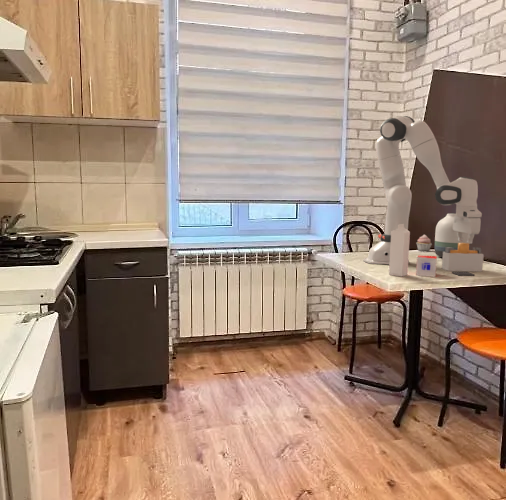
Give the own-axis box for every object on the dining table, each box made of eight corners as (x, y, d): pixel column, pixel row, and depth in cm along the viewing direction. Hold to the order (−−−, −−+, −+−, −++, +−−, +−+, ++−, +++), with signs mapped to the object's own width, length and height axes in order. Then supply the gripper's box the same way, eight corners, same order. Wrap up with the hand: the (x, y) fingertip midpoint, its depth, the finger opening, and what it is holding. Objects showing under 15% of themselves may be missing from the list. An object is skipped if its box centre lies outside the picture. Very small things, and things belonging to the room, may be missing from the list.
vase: (470, 260, 262) (474, 215, 258) (436, 259, 265) (439, 214, 261) (462, 256, 278) (466, 213, 275) (431, 254, 281) (434, 212, 278)
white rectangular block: (448, 270, 228) (449, 248, 226) (441, 268, 234) (443, 246, 233) (482, 271, 228) (484, 248, 227) (474, 268, 235) (476, 247, 234)
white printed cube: (435, 273, 220) (436, 256, 219) (435, 276, 213) (436, 258, 212) (416, 272, 223) (417, 255, 222) (415, 275, 215) (416, 257, 214)
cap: (451, 253, 228) (452, 243, 227) (447, 252, 232) (447, 242, 232) (479, 253, 228) (479, 244, 228) (474, 252, 233) (474, 242, 232)
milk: (407, 275, 216) (411, 224, 213) (401, 276, 211) (405, 225, 208) (394, 273, 219) (397, 223, 216) (388, 274, 215) (391, 224, 212)
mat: (458, 275, 216) (458, 274, 216) (451, 272, 223) (451, 271, 222) (474, 275, 216) (474, 274, 216) (467, 273, 223) (467, 271, 223)
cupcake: (421, 249, 305) (422, 233, 304) (434, 251, 298) (436, 234, 296) (412, 250, 300) (413, 234, 299) (425, 252, 292) (426, 235, 291)
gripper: (449, 211, 238) (448, 240, 240) (469, 213, 218) (468, 245, 219) (462, 211, 238) (461, 240, 240) (483, 213, 218) (482, 244, 219)
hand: (465, 242), depth 229 cm, fingers open, 8 cm apart
